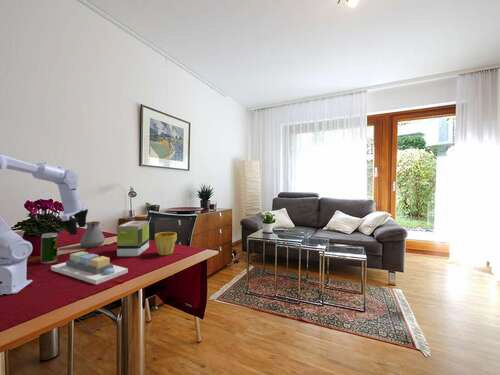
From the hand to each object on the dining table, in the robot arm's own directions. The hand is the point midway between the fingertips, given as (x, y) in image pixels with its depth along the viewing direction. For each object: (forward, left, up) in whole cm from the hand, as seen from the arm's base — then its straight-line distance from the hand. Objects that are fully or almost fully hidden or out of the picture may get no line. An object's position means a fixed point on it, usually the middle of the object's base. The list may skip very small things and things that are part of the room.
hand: (78, 230), depth 93 cm
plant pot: (+7, -34, -15) cm, 38 cm away
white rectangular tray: (-9, -6, -14) cm, 18 cm away
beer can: (+8, +13, -15) cm, 21 cm away
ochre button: (-13, -11, -12) cm, 21 cm away
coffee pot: (+27, +2, -15) cm, 31 cm away
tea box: (+14, -19, -15) cm, 28 cm away
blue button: (-9, -6, -11) cm, 16 cm away
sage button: (-4, -2, -11) cm, 12 cm away
